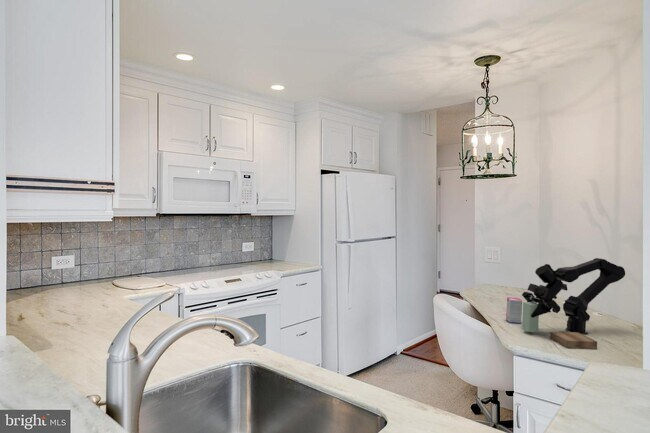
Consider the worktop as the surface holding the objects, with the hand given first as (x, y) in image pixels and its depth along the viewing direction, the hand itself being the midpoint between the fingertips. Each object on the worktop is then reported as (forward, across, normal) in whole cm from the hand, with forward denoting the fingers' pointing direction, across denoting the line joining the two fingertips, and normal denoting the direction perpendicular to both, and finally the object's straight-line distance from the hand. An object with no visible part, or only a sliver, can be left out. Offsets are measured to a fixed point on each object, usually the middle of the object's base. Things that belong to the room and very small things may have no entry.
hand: (527, 315), depth 179 cm
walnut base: (-1, +15, +13) cm, 19 cm away
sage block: (+4, 0, +6) cm, 7 cm away
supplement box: (+2, -18, +10) cm, 20 cm away
